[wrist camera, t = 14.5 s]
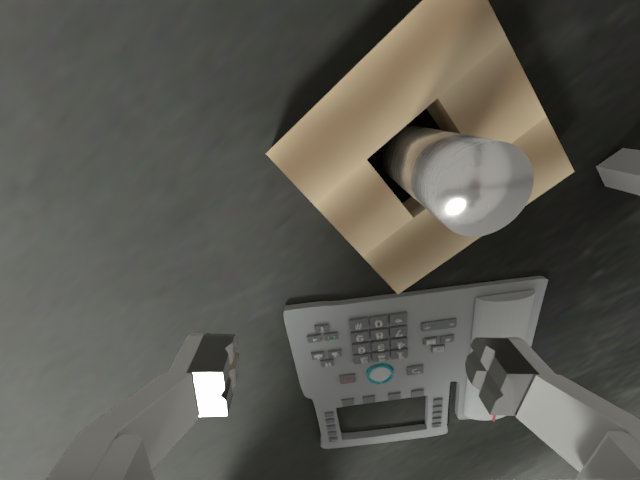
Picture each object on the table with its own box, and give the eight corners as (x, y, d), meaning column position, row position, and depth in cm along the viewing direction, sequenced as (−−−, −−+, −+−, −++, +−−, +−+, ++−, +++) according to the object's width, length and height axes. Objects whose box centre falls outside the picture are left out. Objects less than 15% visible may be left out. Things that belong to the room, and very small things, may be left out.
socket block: (541, 163, 22) (574, 171, 19) (388, 274, 25) (397, 294, 23) (441, -19, 17) (466, -43, 14) (271, 147, 21) (265, 153, 18)
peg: (447, 157, 21) (549, 195, 12) (402, 193, 22) (466, 253, 13) (416, 112, 20) (506, 117, 11) (370, 152, 21) (416, 188, 12)
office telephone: (561, 284, 24) (523, 438, 32) (538, 268, 27) (508, 415, 35) (280, 321, 24) (313, 464, 33) (283, 302, 27) (312, 440, 35)
